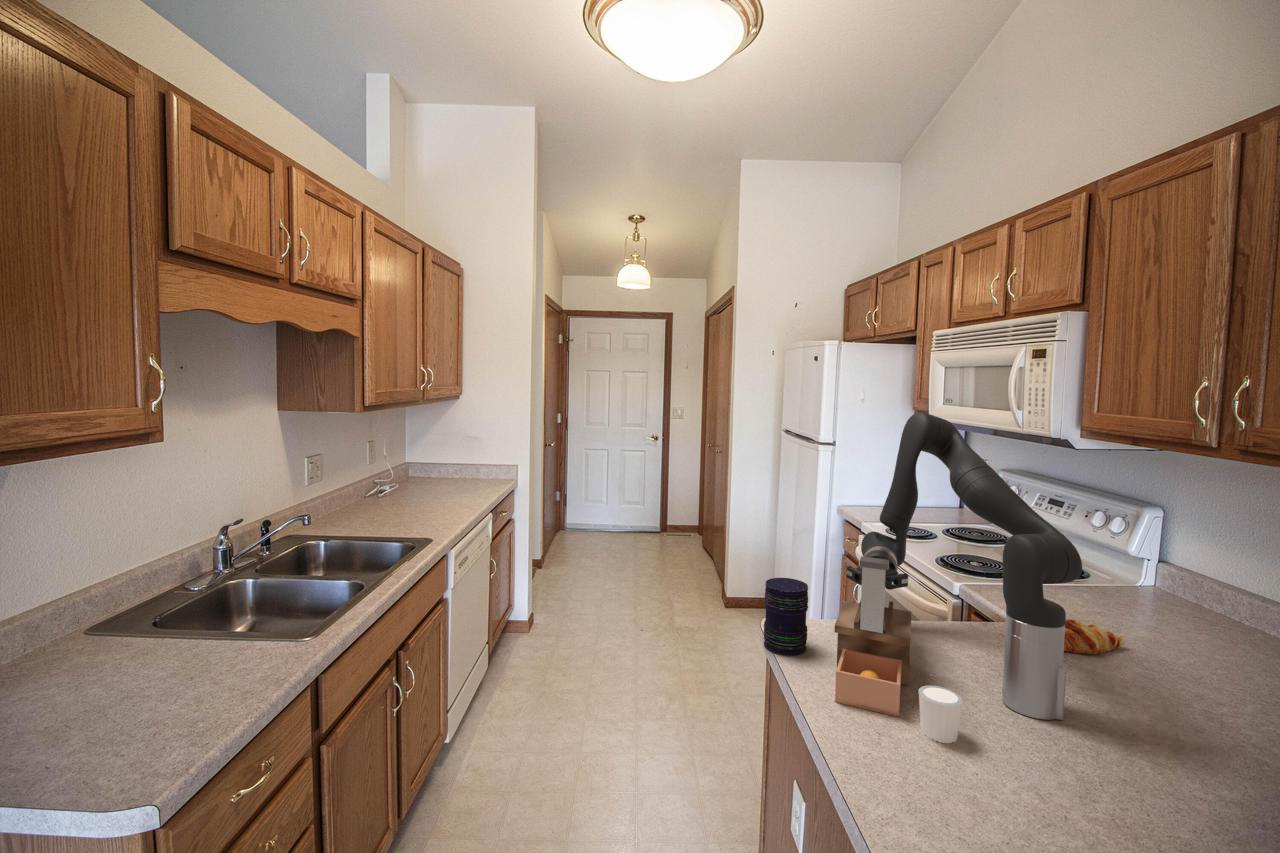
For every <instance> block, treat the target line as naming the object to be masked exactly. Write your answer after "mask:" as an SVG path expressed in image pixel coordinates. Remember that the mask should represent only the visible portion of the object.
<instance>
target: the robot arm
mask: <svg viewBox="0 0 1280 853" xmlns="http://www.w3.org/2000/svg"><path fill="white" fill-rule="evenodd" d="M922 452H923V453H924V452H925V453H927V454H931V455H933V456H934V457H936V458H937V459H939V460H940V462H942V464H944V465H945V466H946V468H948V470H949V483H950V486H951V488H952V491H954V493H955V494H956V495H957V497H958V499H960V501H961V502H962V503H963V504H964V505H965V506H966V508H968V509H969V510H970V512H972V513H973V514H975V515H976V516H978V517H979V518H982V519H983V520H985V521H986V522H989V523H990V524H992V525H995V526H996V527H998V528H1000V529H1002V530H1003V531H1005V532H1007V533H1009V534H1010V535H1011V536H1010V537H1009V538H1008V539H1007V540H1006V542H1005V544H1004V547H1003V551H1002V595H1003V599H1004V602H1005V608H1006V610H1005V627H1004V646H1003V648H1004V649H1003V650H1004V651H1003V669H1002V687H1001V701H1002V703H1003V704H1004V705H1005V706H1007V707H1008V708H1009V709H1010V710H1012V711H1014V712H1016V713H1019V714H1021V715H1024V716H1026V717H1030V718H1033V719H1039V720H1049V721H1050V720H1060V721H1063V720H1064V717H1065V716H1064V713H1065V700H1066V698H1065V697H1066V696H1065V694H1066V679H1067V678H1066V677H1067V669H1066V667H1065V665H1064V657H1065V656H1064V655H1065V654H1064V653H1065V651H1064V637H1065V621H1066V619H1067V615H1066V610H1065V608H1064V607H1063V606H1061V605H1060V604H1059V603H1057V602H1054V601H1053V600H1049V599H1046V598H1045V597H1044V586H1043V585H1053V584H1054V585H1056V584H1057V585H1058V584H1059V585H1061V584H1068V583H1072V582H1075V581H1076V580H1077V579H1078V578H1079V577H1080V576H1081V574H1082V572H1083V562H1082V559H1081V555H1080V552H1079V550H1077V547H1076V546H1075V545H1074V544H1073V543H1072V541H1071V540H1069V538H1068V537H1067V536H1065V535H1064V534H1063V533H1062V532H1061V531H1059V530H1058V529H1057V528H1056V527H1055V526H1053V525H1052V524H1051V523H1049V521H1047V520H1046V519H1045V518H1043V517H1042V516H1041V515H1040V514H1039V513H1037V512H1036V511H1035V510H1034V509H1033V508H1032V507H1031V506H1030V505H1029V504H1028V503H1027V502H1026V501H1025V500H1024V499H1022V497H1020V495H1019V494H1017V493H1016V492H1015V491H1014V490H1013V489H1012V488H1011V487H1010V485H1009V484H1008V483H1007V482H1006V481H1005V480H1004V479H1003V478H1002V476H1000V475H999V473H997V471H995V469H994V468H993V467H991V466H990V465H989V464H988V463H987V462H986V461H985V460H984V459H983V458H982V457H981V456H980V455H979V454H978V453H977V452H976V451H975V450H974V449H972V447H971V446H970V445H969V443H968V442H967V441H966V439H965V438H964V436H963V435H962V434H961V433H960V432H959V430H958V428H957V427H956V426H955V425H954V424H953V423H951V421H949V420H947V419H945V418H942V417H939V416H936V415H933V414H931V413H927V412H922V411H921V412H915V413H913V414H912V415H911V416H909V417H908V419H907V421H906V422H905V424H904V425H903V430H902V433H901V437H900V441H899V447H898V452H897V457H896V462H895V465H894V466H895V467H894V473H893V476H892V477H893V478H892V480H891V484H890V488H889V491H888V494H887V497H886V499H885V502H884V505H883V507H882V509H881V510H882V511H881V512H880V515H879V522H880V523H881V524H882V525H884V526H885V527H887V528H889V529H890V530H891V531H893V533H894V534H895V538H893V537H890V536H888V535H885V534H883V533H880V532H879V531H869V532H867V533H866V534H865V535H864V536H863V538H862V540H861V543H860V551H861V556H863V557H871V558H879V559H887V560H889V568H888V570H886V581H885V590H889V591H890V590H896V589H900V588H901V589H902V588H905V587H908V586H909V574H908V573H905V572H904V573H899V571H898V567H900V566H901V565H902V564H903V563H904V562H905V559H906V554H907V553H906V552H907V551H906V550H907V536H908V531H909V527H910V524H911V521H912V518H913V516H914V514H915V511H916V509H917V506H918V500H919V492H918V491H919V490H918V482H917V464H918V463H917V462H918V459H919V457H920V454H921V453H922ZM846 579H848V580H850V581H852V582H854V583H855V584H857V585H859V586H862V567H859V566H857V567H853V566H852V565H847V566H846Z"/></svg>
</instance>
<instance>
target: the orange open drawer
mask: <svg viewBox="0 0 1280 853" xmlns="http://www.w3.org/2000/svg"><path fill="white" fill-rule="evenodd" d="M901 669H902V660H899V659H894V658H889V657H883V656H878V655H873V654H868V653H863V652H858V651H853V650H848V649H843V650H842V653H841V657H840V660H839V663H838V666H837V665H836V670H835V689H834V690H835V691H834V692H835V694H834V702H835V703H837V704H838V703H839V704H843V705H847V706H852V707H855V708H860V709H865V710H868V711H872V712H873V711H874V712H876V713H881V714H886V715H889V716H892V717H897V718H899V716H900V706H901V705H900V704H901V692H902V690H901V689H902V684H901ZM865 670H870V671H873V672H875V673H876V674H877V675H878V677H879V679H876V678H871V677H867V676H862V675H860V674H861V672H863V671H865Z"/></svg>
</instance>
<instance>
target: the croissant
mask: <svg viewBox="0 0 1280 853" xmlns="http://www.w3.org/2000/svg"><path fill="white" fill-rule="evenodd" d="M1124 644H1125V640H1124V638H1123V637H1120V636H1119V637H1118V635H1116V634H1115V633H1113V632H1112V631H1109V630H1108V631H1105V629H1102V628H1100V627H1098V626H1097V625H1095V624H1087V625H1086V624H1085V623H1084V622H1082V621H1080V620H1077V619H1072V618H1070V619H1069V618H1066V621H1065V637H1064V652H1066V653H1067V652H1068V653H1074V654H1080V655H1083V653H1084V654H1089V655H1097V654H1102V653H1104V652H1110V651H1112V650H1113V649H1120V648H1121V647H1123V645H1124Z"/></svg>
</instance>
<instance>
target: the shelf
mask: <svg viewBox="0 0 1280 853" xmlns="http://www.w3.org/2000/svg"><path fill="white" fill-rule="evenodd" d="M860 617H861V599H860V600H859V602H855V601H850V600H843V602H842V604H841V608H840V610H839V613H838V615H837V618H836V621H835V623H834V631H833V632H834V633H836V634H837V642H836V643H837V646H836V649H837V650H836V651H837V652H836V667H837V666H838V663H839V660H840V657H841V653H842V650H843V649H848V650H853V651H858V652H863V653H868V654H873V655H878V656H883V657H889V658H894V659H899V660H902V669H901V685H905V686H909V685H910V682H909V681H910V660H911V639H912V638H911V635H912V634H911V632H912V611H911V610H906V609H905V610H904V609H899V608H894V601H892V600H891V601H890V600H889V602H888V607H885V608H884V630H883V633H878V632H872V631H867V630H861V629H860Z"/></svg>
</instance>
